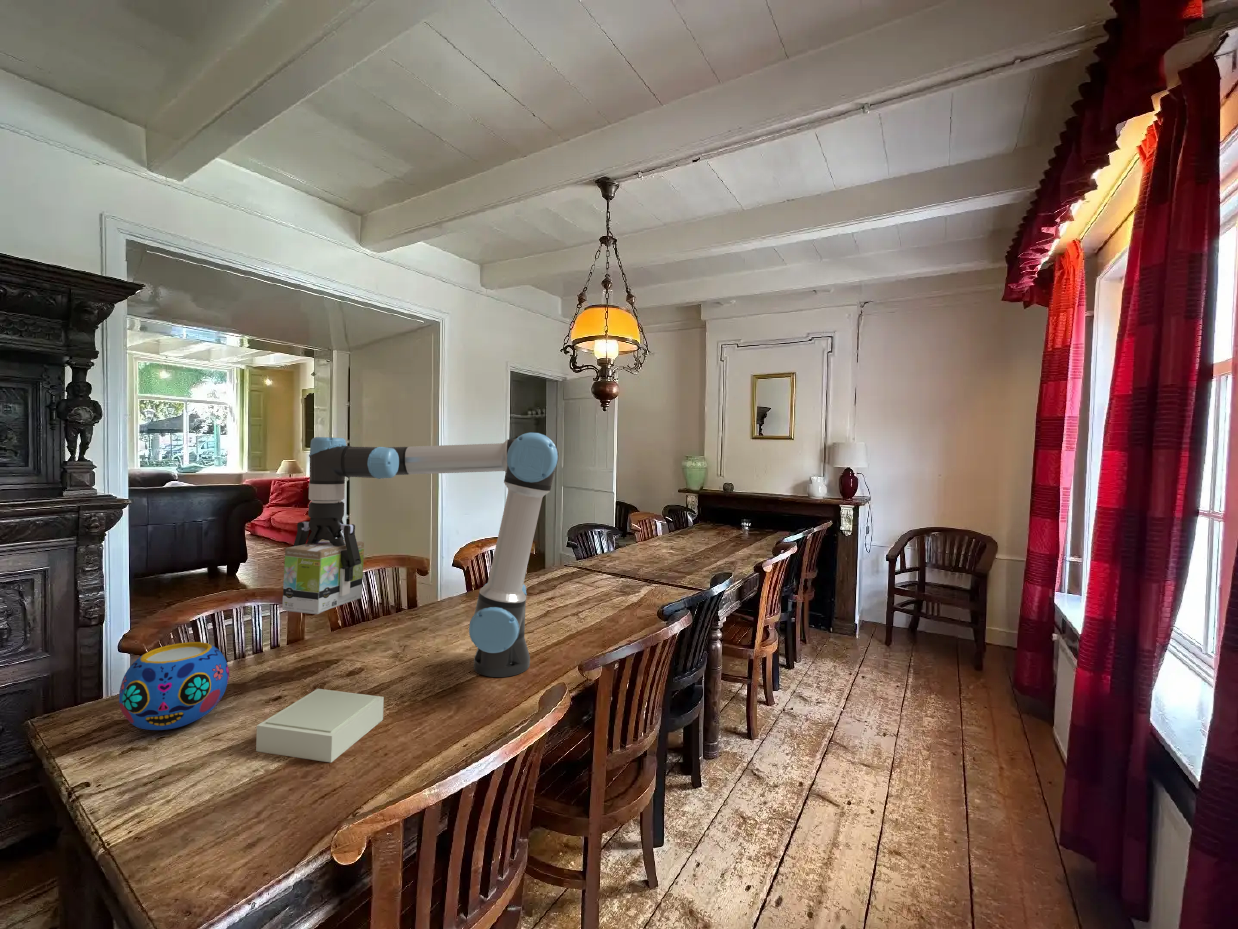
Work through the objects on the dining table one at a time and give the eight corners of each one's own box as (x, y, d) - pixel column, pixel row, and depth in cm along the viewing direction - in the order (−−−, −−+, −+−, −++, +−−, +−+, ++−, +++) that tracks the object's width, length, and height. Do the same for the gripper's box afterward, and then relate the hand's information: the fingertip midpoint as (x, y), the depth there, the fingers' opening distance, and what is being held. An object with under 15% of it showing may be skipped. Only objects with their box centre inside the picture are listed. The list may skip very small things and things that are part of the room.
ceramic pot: (101, 755, 97) (102, 675, 96) (135, 711, 112) (137, 642, 112) (218, 735, 105) (220, 661, 104) (235, 696, 121) (236, 632, 120)
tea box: (319, 615, 118) (320, 550, 117) (281, 611, 120) (282, 547, 119) (363, 597, 133) (365, 539, 132) (329, 594, 134) (330, 537, 134)
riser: (383, 719, 113) (383, 695, 113) (331, 762, 97) (331, 734, 97) (317, 711, 116) (317, 687, 116) (256, 751, 100) (256, 724, 100)
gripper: (379, 502, 127) (376, 592, 128) (297, 497, 131) (295, 585, 132) (359, 505, 120) (356, 600, 121) (272, 500, 124) (270, 593, 124)
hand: (324, 592), depth 126 cm, fingers closed on tea box, 10 cm apart
